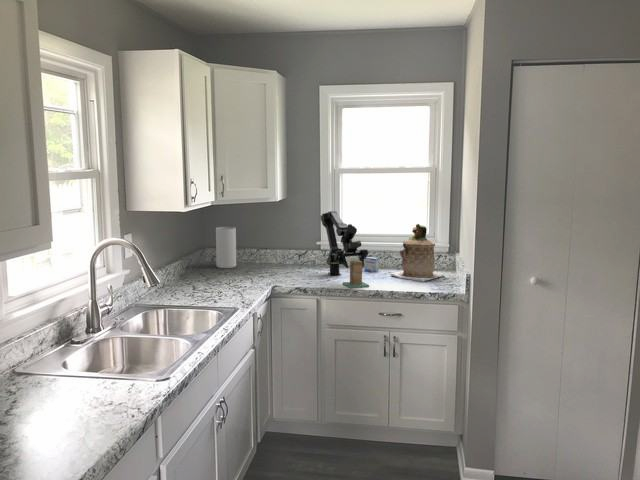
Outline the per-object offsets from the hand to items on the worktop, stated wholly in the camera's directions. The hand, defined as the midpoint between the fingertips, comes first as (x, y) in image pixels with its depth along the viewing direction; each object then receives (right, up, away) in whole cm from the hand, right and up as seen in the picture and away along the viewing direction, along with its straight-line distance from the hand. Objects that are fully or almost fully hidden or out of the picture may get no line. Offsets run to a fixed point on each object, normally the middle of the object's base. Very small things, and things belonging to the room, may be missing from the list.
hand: (355, 267), depth 300 cm
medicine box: (+13, -5, +40) cm, 42 cm away
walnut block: (0, -9, +1) cm, 9 cm away
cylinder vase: (-79, -2, +51) cm, 95 cm away
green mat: (0, -10, +1) cm, 10 cm away
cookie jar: (+38, -7, +26) cm, 47 cm away
